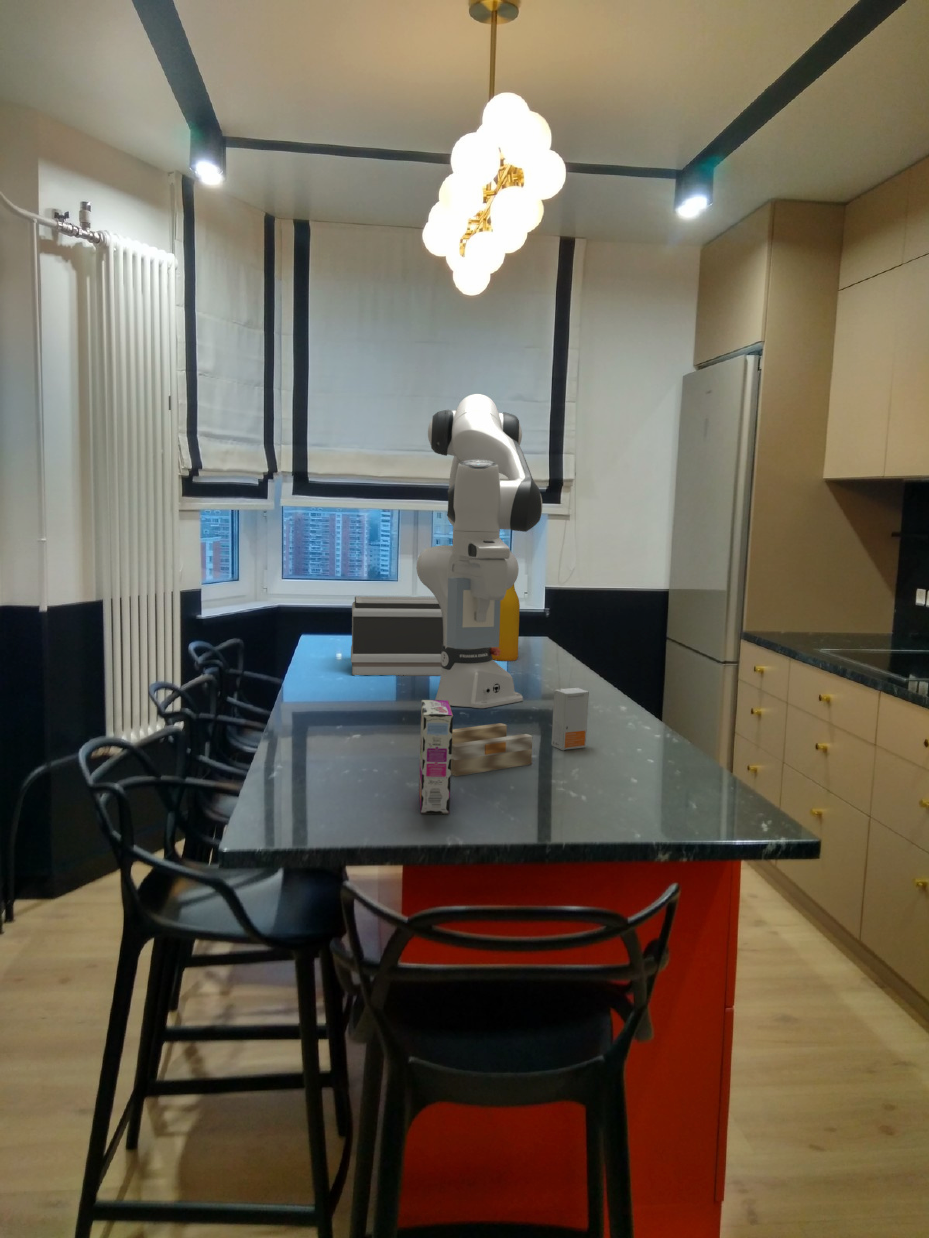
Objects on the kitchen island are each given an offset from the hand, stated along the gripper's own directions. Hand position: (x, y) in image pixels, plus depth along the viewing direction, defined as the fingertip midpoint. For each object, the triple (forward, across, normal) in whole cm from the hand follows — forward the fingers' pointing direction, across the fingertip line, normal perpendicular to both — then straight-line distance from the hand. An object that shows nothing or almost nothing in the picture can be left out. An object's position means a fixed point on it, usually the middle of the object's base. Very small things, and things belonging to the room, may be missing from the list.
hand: (473, 619), depth 164 cm
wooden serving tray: (+28, +2, +1) cm, 28 cm away
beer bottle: (+27, -98, +55) cm, 115 cm away
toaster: (+27, -89, +19) cm, 95 cm away
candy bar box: (+28, +20, -15) cm, 37 cm away
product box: (+5, 0, 0) cm, 5 cm away
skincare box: (+28, -2, +24) cm, 36 cm away
